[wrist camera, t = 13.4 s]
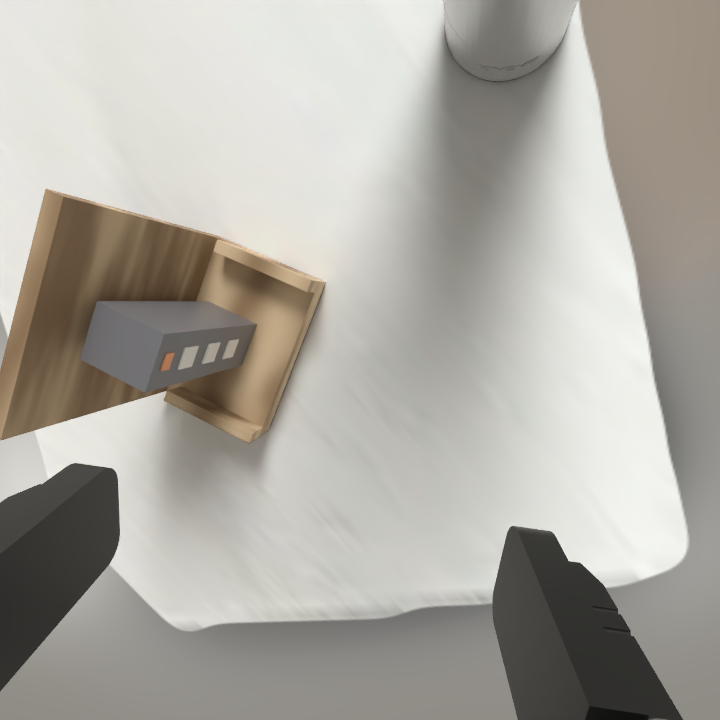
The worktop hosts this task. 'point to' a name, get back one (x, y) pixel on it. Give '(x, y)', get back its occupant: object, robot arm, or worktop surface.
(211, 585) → the worktop surface
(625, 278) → the worktop surface
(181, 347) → the power strip
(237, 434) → the wooden angled stand
